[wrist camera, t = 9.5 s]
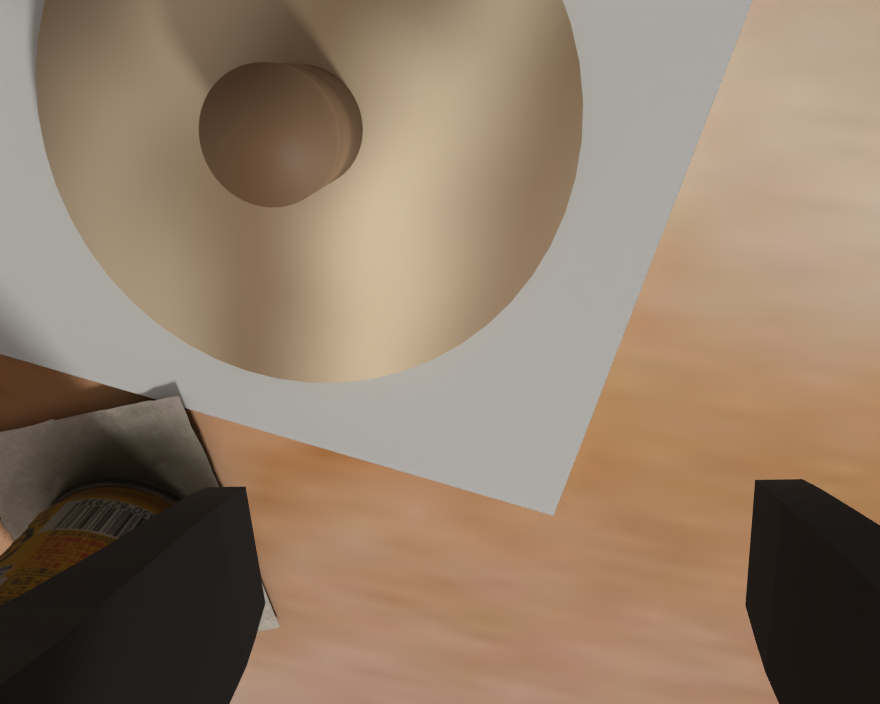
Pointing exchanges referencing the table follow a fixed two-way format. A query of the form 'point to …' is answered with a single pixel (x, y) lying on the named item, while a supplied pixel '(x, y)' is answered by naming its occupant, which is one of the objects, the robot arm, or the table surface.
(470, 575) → the table surface
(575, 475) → the table surface
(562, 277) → the mat
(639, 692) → the table surface
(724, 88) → the table surface
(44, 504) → the condiment
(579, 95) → the lid
